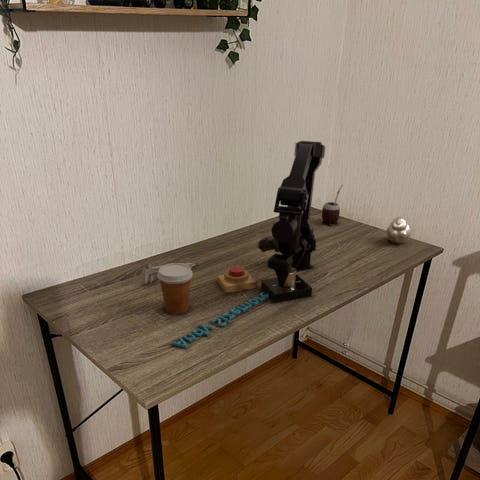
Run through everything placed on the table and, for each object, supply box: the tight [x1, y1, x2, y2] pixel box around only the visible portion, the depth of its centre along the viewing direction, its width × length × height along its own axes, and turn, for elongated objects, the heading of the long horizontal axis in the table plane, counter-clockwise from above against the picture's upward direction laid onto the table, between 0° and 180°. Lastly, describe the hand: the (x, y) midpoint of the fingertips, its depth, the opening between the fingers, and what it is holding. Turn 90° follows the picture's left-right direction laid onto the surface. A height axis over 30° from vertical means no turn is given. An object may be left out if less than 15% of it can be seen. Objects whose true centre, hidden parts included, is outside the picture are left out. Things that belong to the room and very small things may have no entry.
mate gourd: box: [321, 183, 344, 227], centre depth 198 cm, size 8×8×15 cm
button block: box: [216, 269, 257, 294], centre depth 151 cm, size 10×8×4 cm
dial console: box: [260, 273, 313, 304], centre depth 147 cm, size 12×10×3 cm
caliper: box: [142, 262, 197, 285], centre depth 156 cm, size 20×1×6 cm, turn 136°
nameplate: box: [170, 291, 269, 349], centre depth 133 cm, size 37×1×5 cm
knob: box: [278, 267, 297, 288], centre depth 145 cm, size 5×5×5 cm
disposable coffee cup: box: [156, 262, 194, 315], centre depth 135 cm, size 10×10×12 cm
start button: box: [228, 265, 245, 277], centre depth 149 cm, size 4×4×2 cm
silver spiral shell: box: [386, 216, 413, 244], centre depth 181 cm, size 9×10×10 cm
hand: (286, 280), depth 145 cm, fingers open, 9 cm apart
